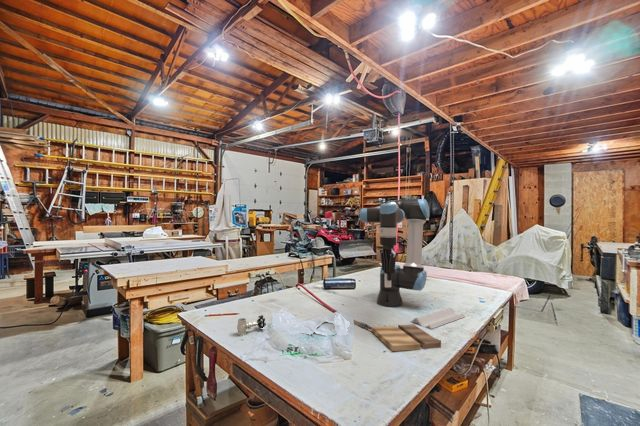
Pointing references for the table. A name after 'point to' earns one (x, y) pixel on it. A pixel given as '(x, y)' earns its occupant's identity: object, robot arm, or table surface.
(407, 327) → the walnut floor board
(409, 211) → the robot arm
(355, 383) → the table surface
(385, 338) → the oak plank
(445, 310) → the crown molding
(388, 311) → the table surface
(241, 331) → the valve
